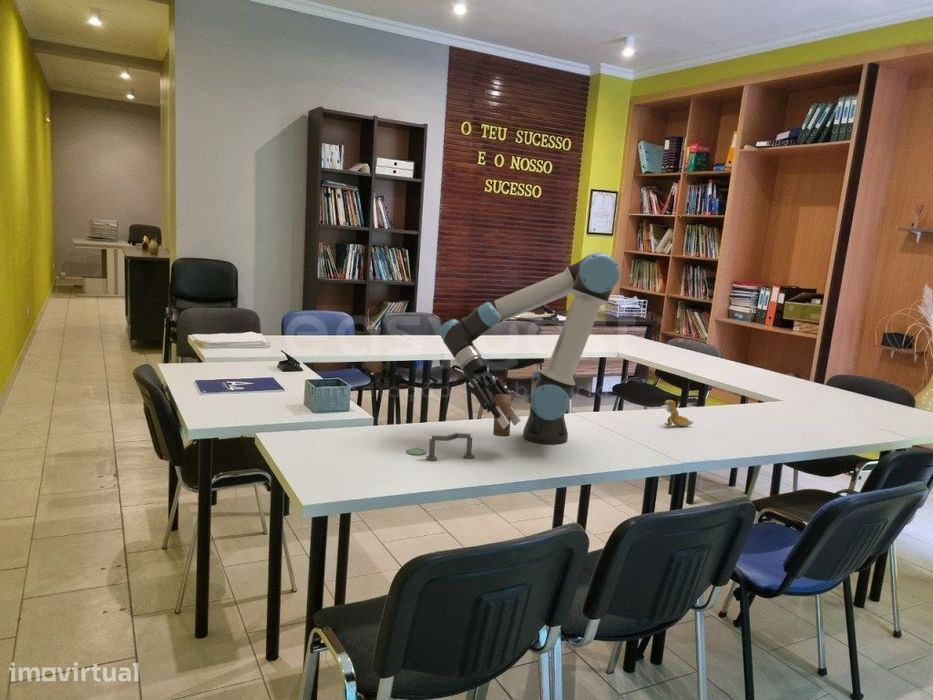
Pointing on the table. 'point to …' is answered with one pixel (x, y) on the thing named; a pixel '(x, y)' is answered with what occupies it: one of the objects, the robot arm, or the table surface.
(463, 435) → the grey bent handle
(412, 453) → the pad
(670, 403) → the toy
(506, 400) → the dowel
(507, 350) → the table surface
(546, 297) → the robot arm
